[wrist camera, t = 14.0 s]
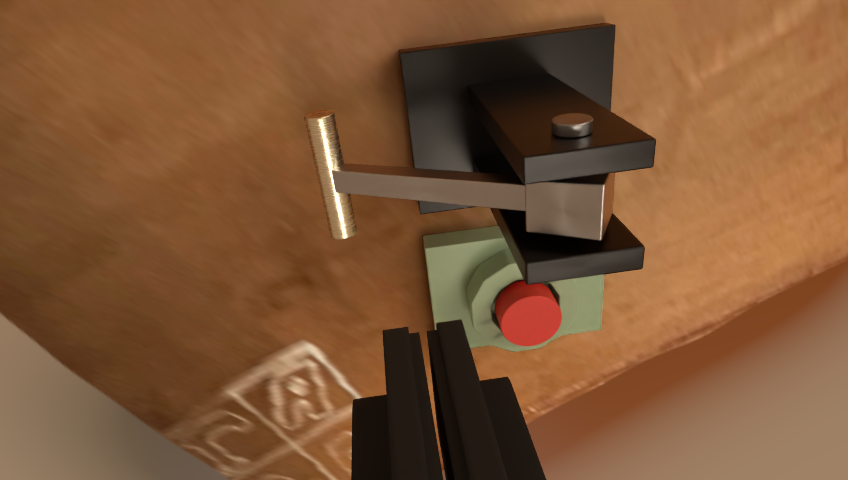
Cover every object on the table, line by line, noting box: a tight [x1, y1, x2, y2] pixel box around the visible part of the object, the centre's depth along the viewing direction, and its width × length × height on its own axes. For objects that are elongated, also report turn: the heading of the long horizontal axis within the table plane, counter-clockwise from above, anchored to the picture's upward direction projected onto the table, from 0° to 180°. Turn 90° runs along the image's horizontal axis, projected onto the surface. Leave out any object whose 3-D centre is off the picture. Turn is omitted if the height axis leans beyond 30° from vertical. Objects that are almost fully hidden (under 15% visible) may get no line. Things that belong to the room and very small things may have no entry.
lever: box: [304, 110, 615, 241], centre depth 22 cm, size 13×6×2 cm, turn 96°
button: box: [495, 280, 562, 346], centre depth 31 cm, size 4×4×2 cm
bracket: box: [399, 23, 656, 285], centre depth 24 cm, size 11×9×13 cm
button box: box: [423, 226, 604, 352], centre depth 33 cm, size 11×8×4 cm
